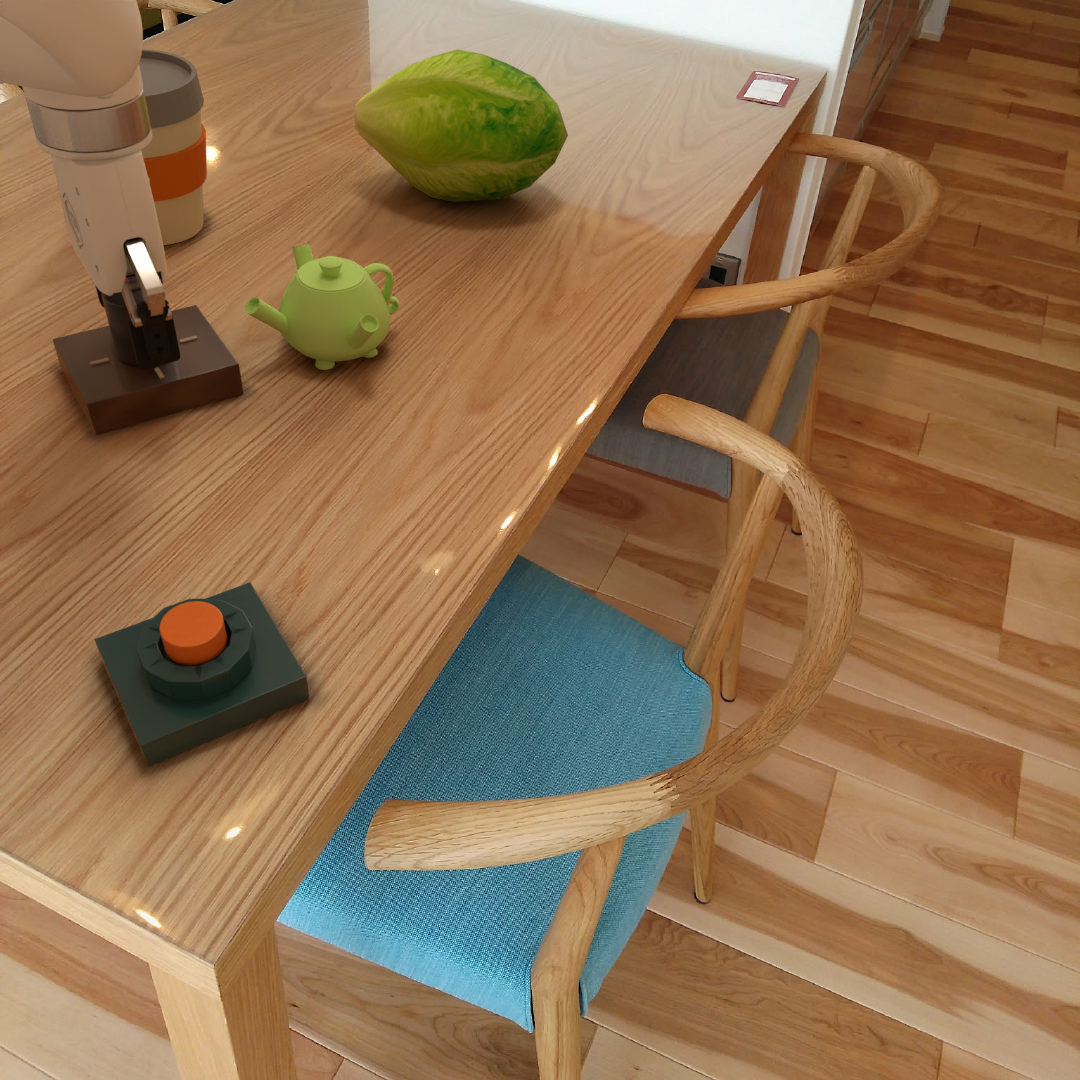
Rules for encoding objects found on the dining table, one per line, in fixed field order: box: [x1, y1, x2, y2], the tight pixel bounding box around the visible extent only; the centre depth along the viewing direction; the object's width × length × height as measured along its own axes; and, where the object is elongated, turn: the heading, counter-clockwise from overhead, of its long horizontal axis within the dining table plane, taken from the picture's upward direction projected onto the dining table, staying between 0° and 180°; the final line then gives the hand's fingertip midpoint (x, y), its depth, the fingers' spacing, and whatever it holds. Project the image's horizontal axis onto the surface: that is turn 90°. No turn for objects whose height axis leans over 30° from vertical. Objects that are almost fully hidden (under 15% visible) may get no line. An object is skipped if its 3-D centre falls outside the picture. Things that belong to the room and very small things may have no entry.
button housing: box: [94, 581, 310, 768], centre depth 62 cm, size 10×9×4 cm
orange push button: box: [160, 601, 227, 665], centre depth 60 cm, size 4×4×2 cm
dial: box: [102, 277, 144, 366], centre depth 81 cm, size 4×4×6 cm
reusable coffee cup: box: [139, 48, 208, 246], centre depth 99 cm, size 13×13×15 cm
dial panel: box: [52, 304, 244, 435], centre depth 84 cm, size 12×10×3 cm
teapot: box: [245, 243, 400, 371], centre depth 88 cm, size 11×11×8 cm
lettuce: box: [353, 49, 569, 203], centre depth 109 cm, size 15×23×16 cm
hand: (139, 332), depth 81 cm, fingers open, 9 cm apart
